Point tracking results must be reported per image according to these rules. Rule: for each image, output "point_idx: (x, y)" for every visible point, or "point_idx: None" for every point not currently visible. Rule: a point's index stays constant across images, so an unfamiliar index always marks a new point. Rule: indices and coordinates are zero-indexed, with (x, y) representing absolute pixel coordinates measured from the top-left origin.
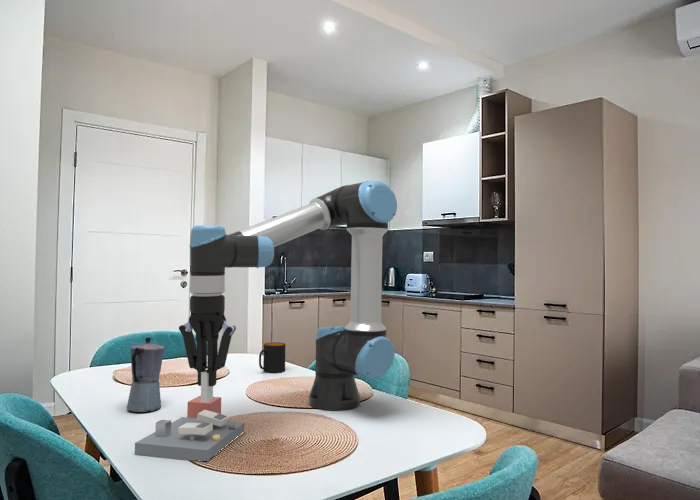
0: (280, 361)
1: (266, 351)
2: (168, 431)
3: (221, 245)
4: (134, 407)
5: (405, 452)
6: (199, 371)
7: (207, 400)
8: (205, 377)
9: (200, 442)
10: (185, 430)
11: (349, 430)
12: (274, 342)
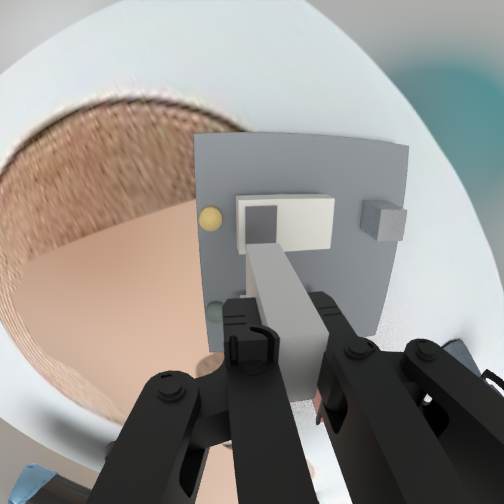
0: None
1: None
2: (365, 219)
3: None
4: (459, 346)
5: None
6: (346, 339)
7: (246, 251)
8: (280, 314)
9: (245, 184)
10: (307, 196)
11: (46, 375)
12: None
